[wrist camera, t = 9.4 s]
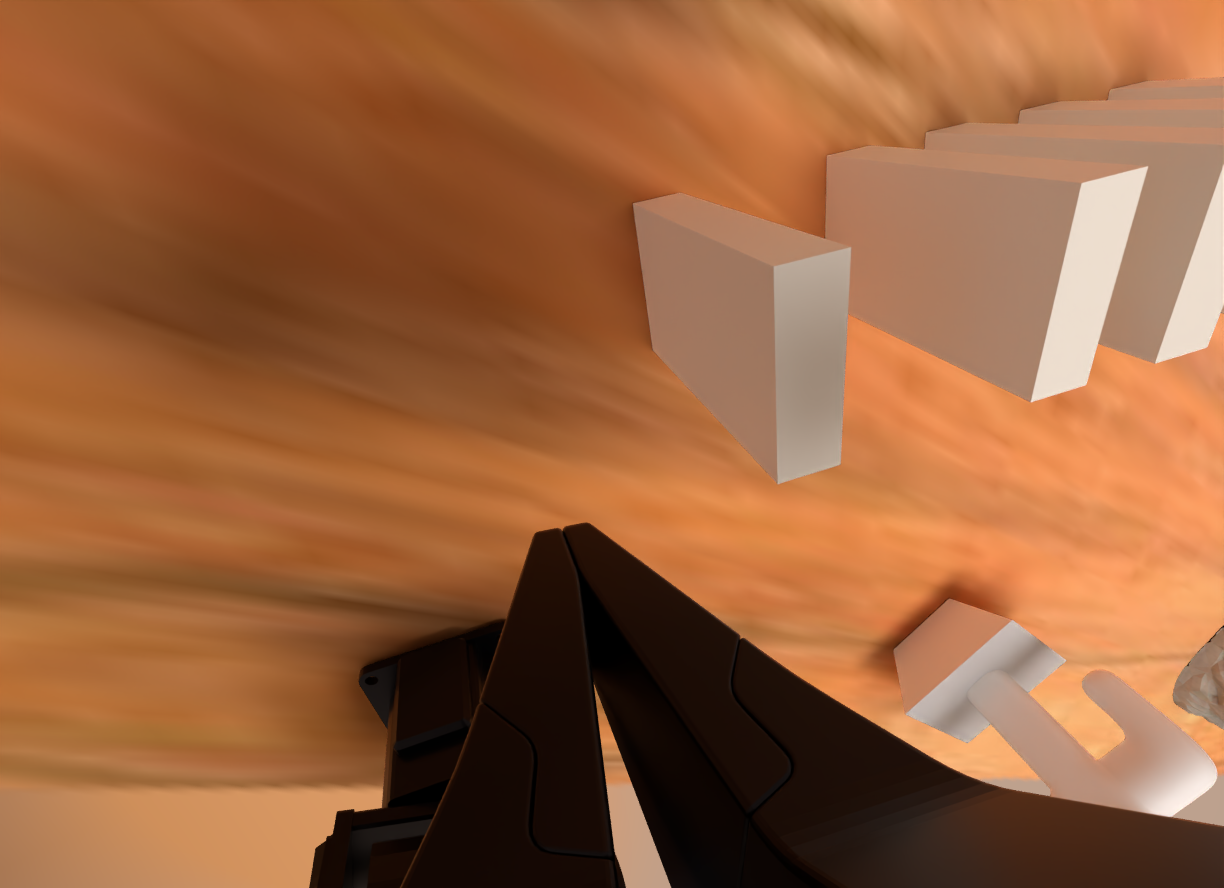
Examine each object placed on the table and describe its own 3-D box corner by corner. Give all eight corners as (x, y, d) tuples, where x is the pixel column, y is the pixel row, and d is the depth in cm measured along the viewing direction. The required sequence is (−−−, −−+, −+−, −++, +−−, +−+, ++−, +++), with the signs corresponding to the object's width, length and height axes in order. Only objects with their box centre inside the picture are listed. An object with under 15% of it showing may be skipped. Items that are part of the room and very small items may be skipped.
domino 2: (862, 291, 22) (1086, 384, 15) (823, 301, 22) (1030, 402, 14) (870, 145, 20) (1148, 165, 12) (826, 155, 19) (1081, 182, 12)
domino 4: (1030, 246, 23) (1322, 311, 16) (995, 255, 23) (1274, 326, 15) (1059, 101, 21) (1426, 94, 13) (1020, 110, 20) (1371, 108, 13)
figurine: (1025, 600, 35) (1355, 871, 23) (910, 702, 38) (1152, 1001, 25) (972, 557, 32) (1326, 848, 19) (848, 672, 34) (1093, 1001, 21)
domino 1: (694, 339, 21) (840, 464, 14) (652, 350, 21) (777, 484, 13) (680, 192, 19) (851, 247, 11) (632, 203, 18) (773, 266, 11)
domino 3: (948, 268, 23) (1207, 347, 15) (911, 278, 22) (1154, 363, 15) (967, 122, 20) (1292, 129, 12) (926, 132, 20) (1230, 145, 12)
